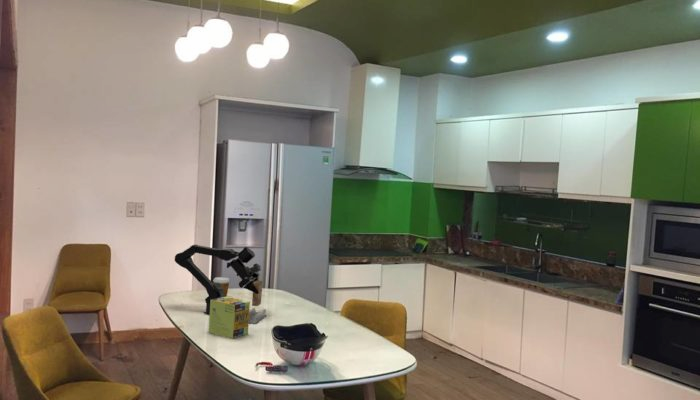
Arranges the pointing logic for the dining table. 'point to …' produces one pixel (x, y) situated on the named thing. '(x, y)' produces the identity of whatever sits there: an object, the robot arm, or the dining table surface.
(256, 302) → the door panel
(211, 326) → the protein box
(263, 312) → the door track
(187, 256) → the robot arm
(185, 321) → the dining table surface
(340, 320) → the dining table surface
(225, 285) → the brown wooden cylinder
